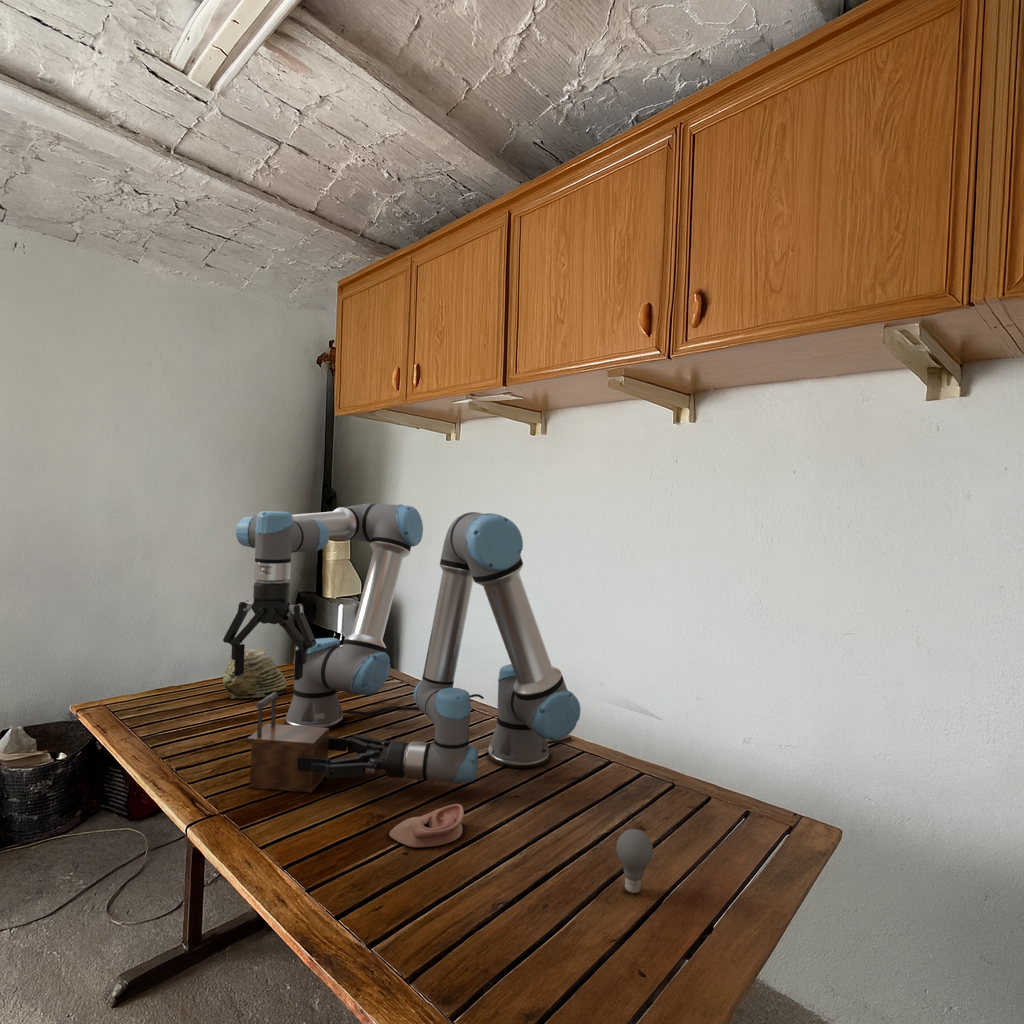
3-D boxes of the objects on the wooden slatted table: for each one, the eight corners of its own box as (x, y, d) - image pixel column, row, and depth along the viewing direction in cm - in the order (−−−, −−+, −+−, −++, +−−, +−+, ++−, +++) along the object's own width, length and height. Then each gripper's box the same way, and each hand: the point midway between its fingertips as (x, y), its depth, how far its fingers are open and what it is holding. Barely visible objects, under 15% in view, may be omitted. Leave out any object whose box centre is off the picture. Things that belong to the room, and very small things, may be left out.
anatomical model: (383, 821, 117) (406, 793, 128) (382, 842, 117) (405, 813, 128) (452, 832, 114) (469, 802, 125) (451, 853, 114) (468, 822, 125)
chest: (249, 788, 136) (251, 743, 136) (269, 770, 145) (270, 727, 145) (311, 792, 135) (313, 747, 135) (327, 774, 144) (328, 732, 144)
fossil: (218, 695, 195) (220, 647, 195) (278, 685, 208) (279, 640, 207) (228, 703, 189) (230, 653, 188) (289, 692, 201) (290, 645, 201)
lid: (246, 742, 136) (248, 703, 136) (266, 727, 145) (267, 690, 145) (313, 747, 135) (314, 707, 135) (328, 731, 144) (330, 694, 144)
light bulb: (610, 879, 108) (613, 822, 108) (644, 879, 109) (647, 822, 109) (619, 902, 102) (622, 840, 102) (655, 901, 103) (658, 840, 103)
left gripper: (208, 580, 137) (205, 677, 138) (320, 586, 135) (316, 685, 136) (226, 576, 145) (223, 668, 145) (333, 582, 143) (329, 675, 143)
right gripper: (392, 802, 127) (285, 793, 128) (417, 755, 150) (327, 749, 152) (393, 764, 127) (286, 756, 128) (419, 724, 150) (328, 717, 151)
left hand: (268, 676), depth 140 cm, fingers open, 13 cm apart
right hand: (308, 752), depth 140 cm, fingers open, 11 cm apart
